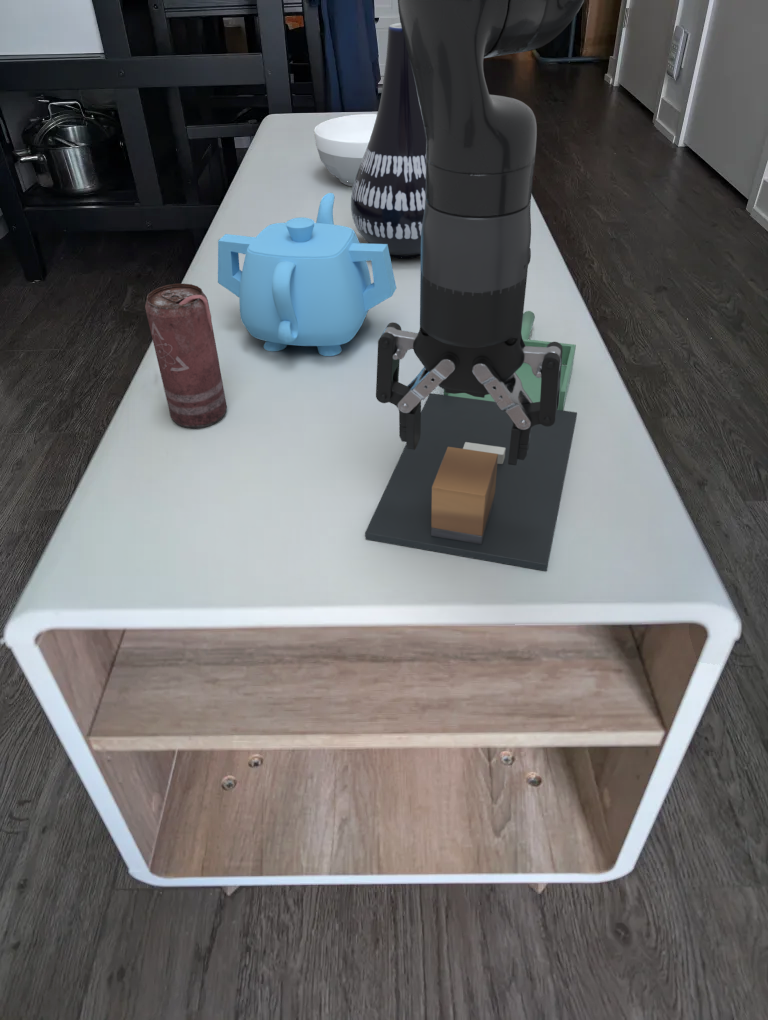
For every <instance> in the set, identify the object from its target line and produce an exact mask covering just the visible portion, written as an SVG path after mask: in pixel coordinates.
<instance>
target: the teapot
mask: <svg viewBox="0 0 768 1020" xmlns="http://www.w3.org/2000/svg"><path fill="white" fill-rule="evenodd" d="M335 197H336V196H335V194H334V193H333V192H328V193H326V194H324V195H323V197H322V198H321V200H320V202H319V205H318V211H317V216H316V221H315V220H314V219H312V218H309V217H302V216H300V217H294V218H291V219H288V220H287V221H286V222H276V223H272V224H269V225H267V226H266V227H264V228H263V229H262V230H261V231H260V232H259V233H258V234H257V235H256V236H247V235H238V234H232V233H231V234H229V233H225V234H224V235H222V237H220V238H219V239H218V241H217V283H218V284H219V285H220V286H222V287H223V288H225V289H226V290H228V291H229V292H231V293H232V294H233V295H235V296H236V297H238V298H239V303H238V304H239V315H240V320H241V322H242V324H243V326H244V328H245V329H246V330H247V332H248V333H249V334H250V335H251V336H252V337H253V338H255V339H257V340H262V341H264V342H265V343H264V344H263V348H264V350H266V351H267V352H268V351H269V352H279V351H282V350H284V349H285V348H287V347H288V346H298V347H300V346H301V347H317V353H318V354H319V355H321V356H324V357H333V356H337V355H339V354H340V353H341V352H342V350H343V349H342V347H341V345H344V344H347V343H349V342H350V341H352V340H353V339H354V338H355V336H356V334H357V333H358V332H359V331H360V329H361V328H362V325H363V323H364V322H365V318H366V317H367V314H368V313H369V310H371V309H372V308H374V307H376V306H378V305H379V304H381V303H382V302H384V301H386V300H388V299H390V298H391V297H393V295H394V293H395V291H396V290H397V284H396V279H395V275H394V269H393V265H392V261H391V256H390V254H389V249H388V244H369V243H366V242H365V243H363V242H360V241H359V238H358V236H357V234H356V232H355V230H354V229H353V228H351V227H349V226H345V225H339V224H335V222H334V203H335ZM239 254H241V255H245V256H244V260H243V265H242V270H241V268H240V256H239ZM367 261H368V262H369V261H370V263H371V272H372V277H373V278H372V279H373V282H372V279H371V274H370V273H371V272H370V268H369V265H368V262H367Z"/></svg>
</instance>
